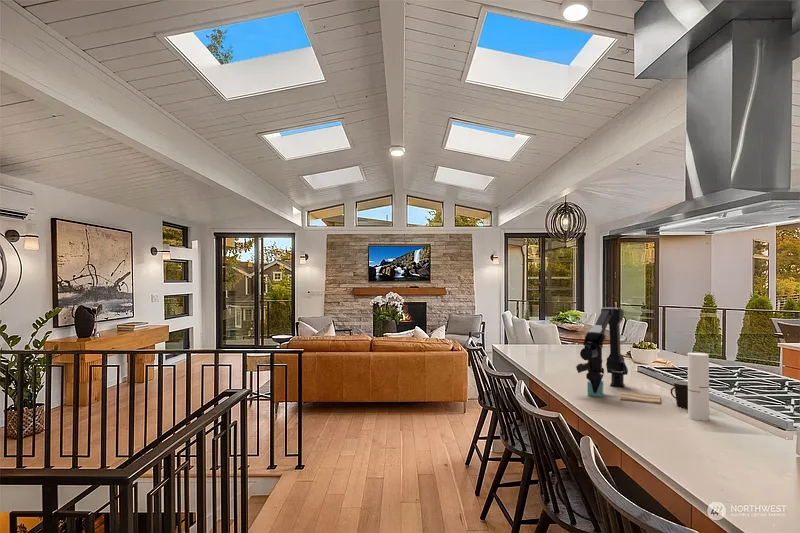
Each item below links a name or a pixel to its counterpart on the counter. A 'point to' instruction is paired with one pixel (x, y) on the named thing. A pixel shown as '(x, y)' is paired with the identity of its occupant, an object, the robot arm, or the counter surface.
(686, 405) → the coffee mug
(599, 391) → the tilted teal cube
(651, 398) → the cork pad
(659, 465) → the counter surface
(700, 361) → the cylindrical container
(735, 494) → the counter surface
